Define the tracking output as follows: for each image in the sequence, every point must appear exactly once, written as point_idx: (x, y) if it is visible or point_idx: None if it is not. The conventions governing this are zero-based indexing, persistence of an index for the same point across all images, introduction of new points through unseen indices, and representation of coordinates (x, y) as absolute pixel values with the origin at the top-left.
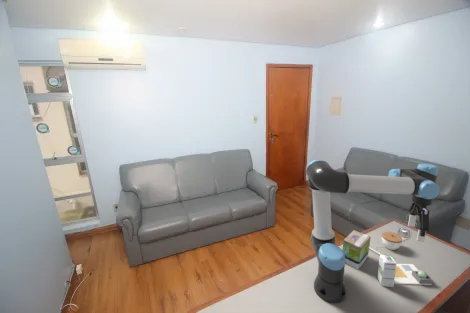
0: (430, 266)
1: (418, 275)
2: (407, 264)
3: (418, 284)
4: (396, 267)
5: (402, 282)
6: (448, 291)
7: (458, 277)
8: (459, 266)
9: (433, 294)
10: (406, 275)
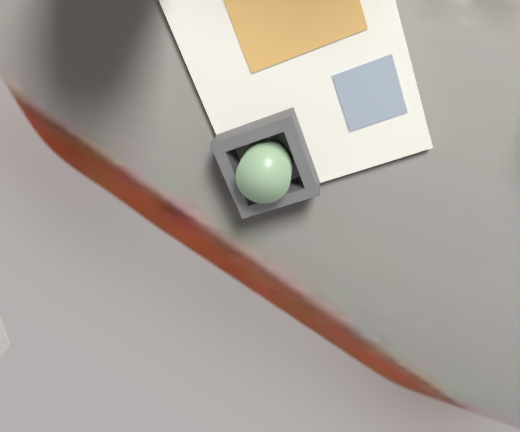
0: (446, 252)
1: (255, 145)
2: (417, 107)
3: (214, 127)
4: (345, 9)
5: (175, 22)
6: (229, 267)
7: (377, 354)
8: (490, 396)
9: (164, 186)
10: (271, 68)
